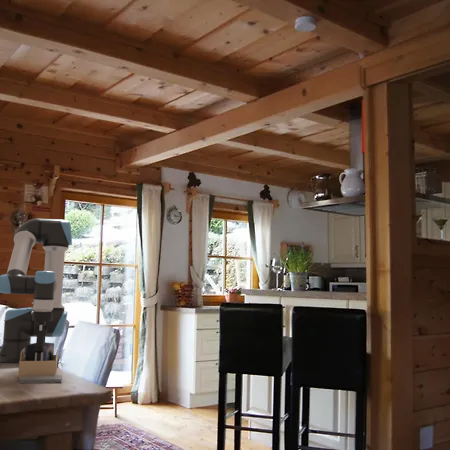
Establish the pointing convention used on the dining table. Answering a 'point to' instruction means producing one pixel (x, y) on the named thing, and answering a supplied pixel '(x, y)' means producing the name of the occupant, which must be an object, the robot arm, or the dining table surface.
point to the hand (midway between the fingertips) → (39, 367)
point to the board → (40, 378)
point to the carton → (37, 366)
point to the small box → (47, 351)
